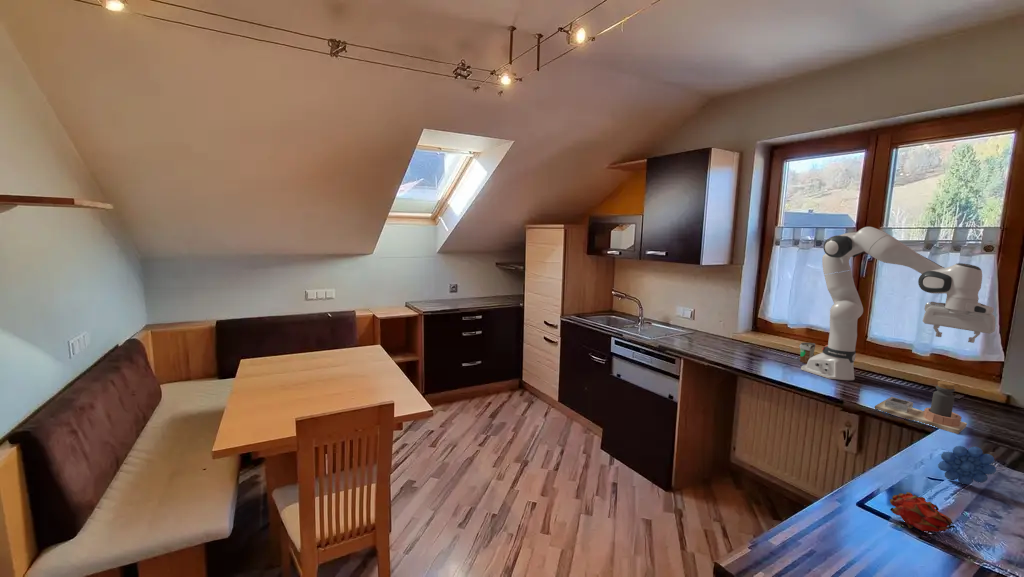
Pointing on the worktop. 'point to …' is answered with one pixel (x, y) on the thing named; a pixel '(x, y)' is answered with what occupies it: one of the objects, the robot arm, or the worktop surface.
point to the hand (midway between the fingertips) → (954, 339)
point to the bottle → (943, 399)
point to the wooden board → (920, 418)
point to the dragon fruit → (919, 513)
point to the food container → (806, 351)
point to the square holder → (899, 404)
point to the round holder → (942, 418)
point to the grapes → (967, 465)
